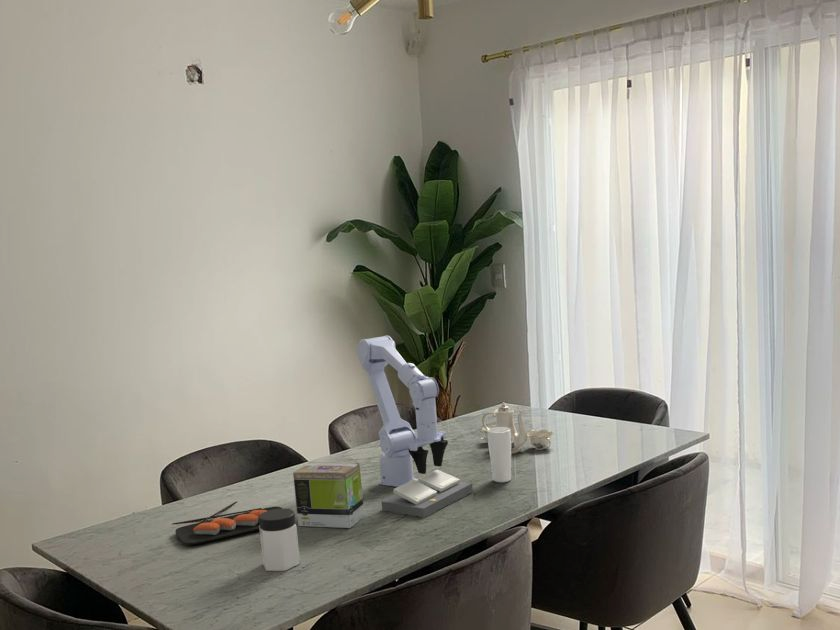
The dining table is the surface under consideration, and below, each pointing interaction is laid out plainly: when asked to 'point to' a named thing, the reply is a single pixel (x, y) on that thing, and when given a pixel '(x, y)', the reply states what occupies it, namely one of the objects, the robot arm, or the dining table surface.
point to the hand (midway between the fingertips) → (430, 469)
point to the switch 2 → (438, 480)
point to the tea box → (329, 495)
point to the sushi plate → (220, 525)
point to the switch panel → (427, 501)
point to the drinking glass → (500, 453)
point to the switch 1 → (415, 492)
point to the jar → (278, 539)
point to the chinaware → (517, 440)
